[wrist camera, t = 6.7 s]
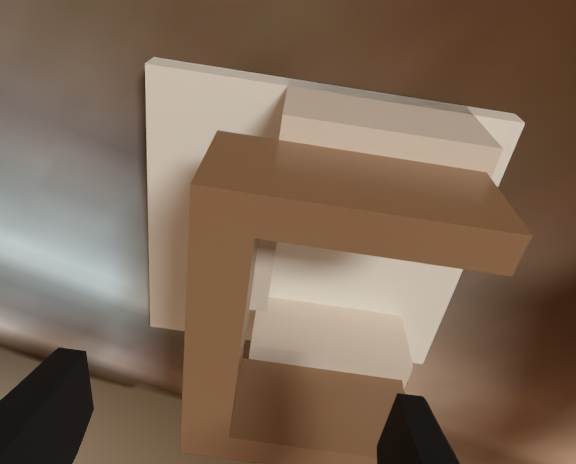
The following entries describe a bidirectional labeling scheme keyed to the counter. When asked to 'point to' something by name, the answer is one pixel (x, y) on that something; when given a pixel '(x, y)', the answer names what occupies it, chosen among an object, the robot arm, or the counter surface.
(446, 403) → the counter surface
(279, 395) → the tan c-shaped bracket
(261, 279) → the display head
